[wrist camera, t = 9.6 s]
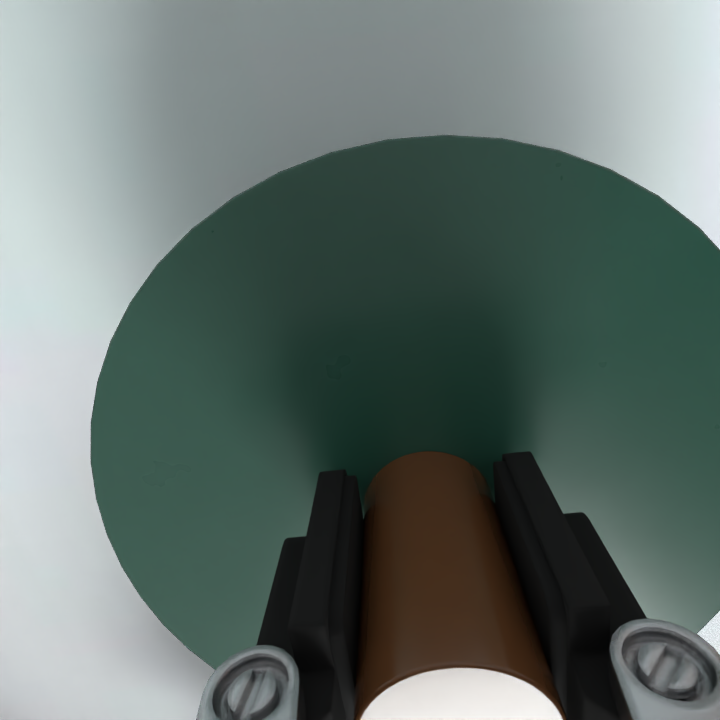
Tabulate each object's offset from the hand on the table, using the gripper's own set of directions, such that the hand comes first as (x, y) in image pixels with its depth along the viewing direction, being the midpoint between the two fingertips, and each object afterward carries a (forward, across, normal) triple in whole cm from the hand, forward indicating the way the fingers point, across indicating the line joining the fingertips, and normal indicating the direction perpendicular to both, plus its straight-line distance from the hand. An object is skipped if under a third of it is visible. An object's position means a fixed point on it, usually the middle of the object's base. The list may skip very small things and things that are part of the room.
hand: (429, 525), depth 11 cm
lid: (+1, 0, 0) cm, 1 cm away
